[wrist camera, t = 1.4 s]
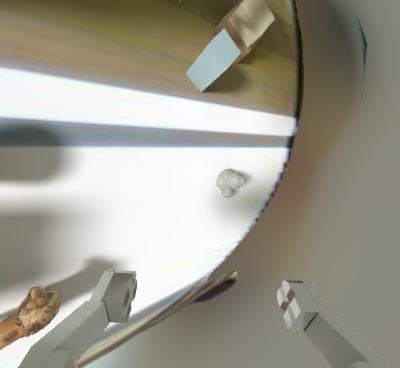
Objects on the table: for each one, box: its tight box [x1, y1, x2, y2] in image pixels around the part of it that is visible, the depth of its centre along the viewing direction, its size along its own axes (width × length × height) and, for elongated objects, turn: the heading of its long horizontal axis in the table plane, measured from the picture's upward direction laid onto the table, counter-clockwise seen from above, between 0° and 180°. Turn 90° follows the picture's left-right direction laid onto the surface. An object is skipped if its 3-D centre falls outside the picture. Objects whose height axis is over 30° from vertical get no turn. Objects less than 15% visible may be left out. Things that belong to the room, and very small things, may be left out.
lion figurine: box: [0, 286, 61, 350], centre depth 24 cm, size 15×5×9 cm, turn 124°
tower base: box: [214, 0, 275, 63], centre depth 43 cm, size 9×9×8 cm
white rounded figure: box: [216, 169, 245, 198], centre depth 42 cm, size 5×7×8 cm
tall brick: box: [186, 28, 241, 92], centre depth 38 cm, size 5×5×10 cm
